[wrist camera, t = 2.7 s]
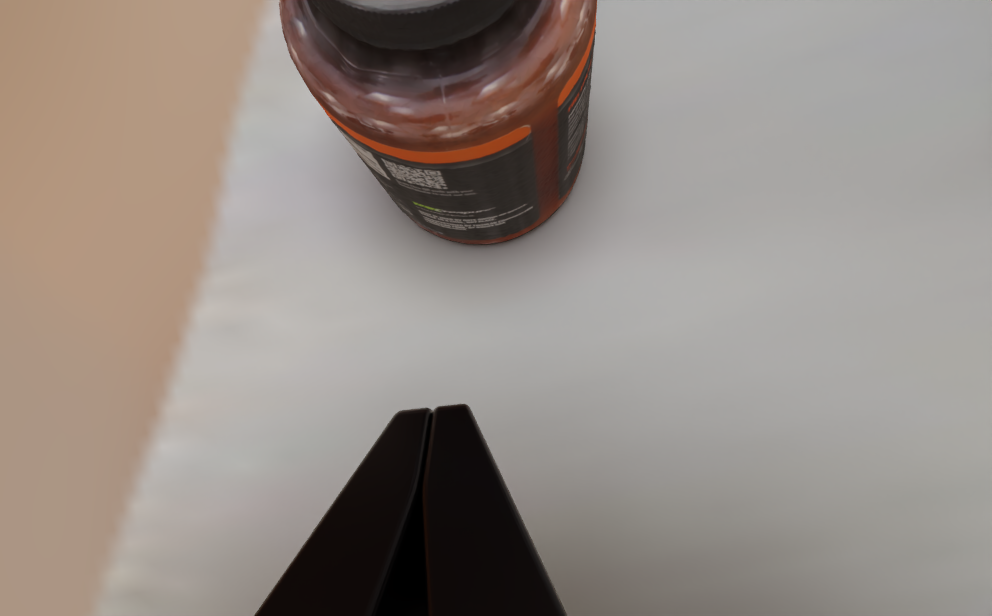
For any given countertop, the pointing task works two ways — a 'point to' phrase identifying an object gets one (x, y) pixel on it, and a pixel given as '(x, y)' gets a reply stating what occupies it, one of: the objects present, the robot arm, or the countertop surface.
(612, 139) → the countertop surface
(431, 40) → the supplement bottle
